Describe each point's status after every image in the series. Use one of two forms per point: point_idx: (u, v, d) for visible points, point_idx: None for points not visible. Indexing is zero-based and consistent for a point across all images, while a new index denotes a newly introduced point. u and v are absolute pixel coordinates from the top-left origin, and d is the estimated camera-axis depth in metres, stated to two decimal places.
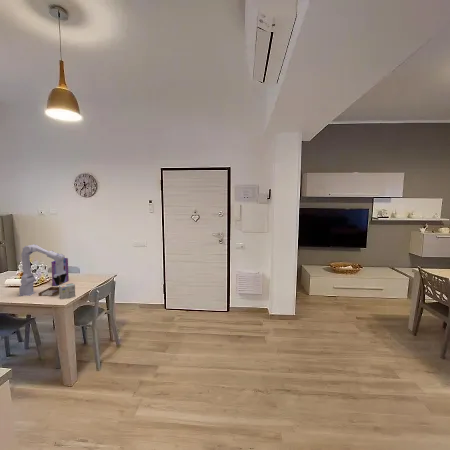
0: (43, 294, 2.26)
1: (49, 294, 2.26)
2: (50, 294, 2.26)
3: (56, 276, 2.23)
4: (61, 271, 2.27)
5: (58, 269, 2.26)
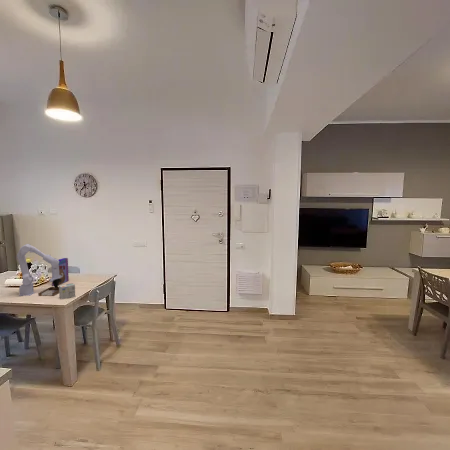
0: (43, 294, 2.26)
1: (49, 294, 2.26)
2: (50, 294, 2.26)
3: (52, 280, 2.31)
4: (57, 275, 2.36)
5: (54, 273, 2.35)
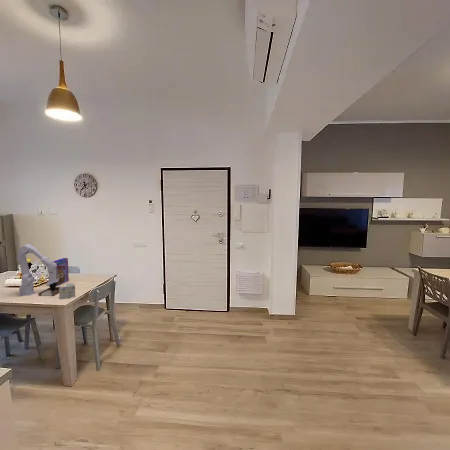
0: (43, 294, 2.25)
1: (49, 294, 2.26)
2: (50, 294, 2.26)
3: (49, 284, 2.27)
4: (54, 279, 2.32)
5: (51, 277, 2.31)
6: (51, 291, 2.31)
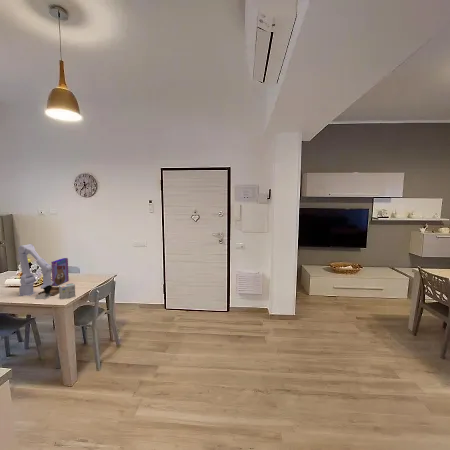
0: (37, 298, 2.18)
1: (43, 298, 2.18)
2: (44, 298, 2.18)
3: (43, 287, 2.20)
4: (48, 282, 2.25)
5: (45, 280, 2.23)
6: (45, 294, 2.23)
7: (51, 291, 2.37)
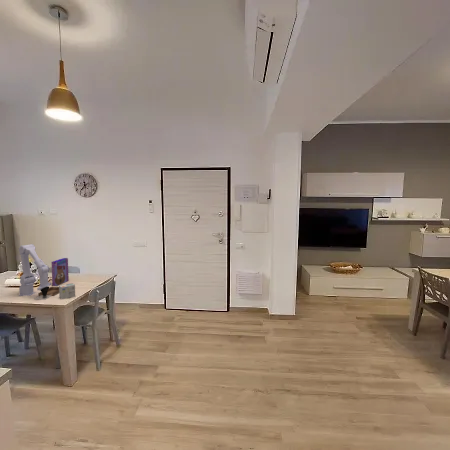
0: (36, 299, 2.17)
1: (42, 299, 2.17)
2: (43, 299, 2.17)
3: (40, 289, 2.16)
4: (45, 283, 2.21)
5: (42, 281, 2.19)
6: (44, 296, 2.22)
7: (51, 291, 2.37)
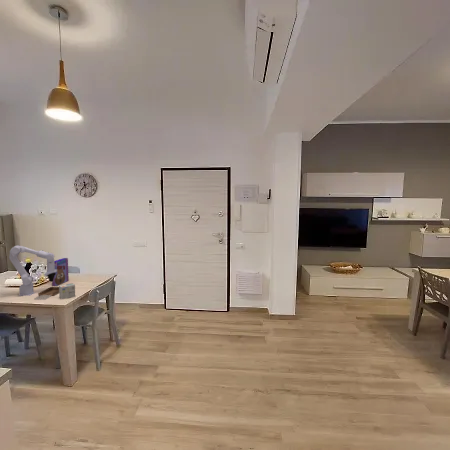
0: (36, 299, 2.17)
1: (42, 299, 2.17)
2: (43, 299, 2.17)
3: (47, 274, 2.29)
4: (52, 269, 2.34)
5: (49, 267, 2.33)
6: (45, 296, 2.22)
7: (51, 291, 2.37)
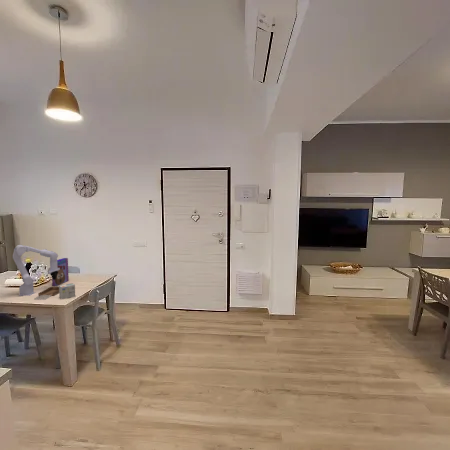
0: (36, 299, 2.17)
1: (42, 299, 2.17)
2: (43, 299, 2.17)
3: (50, 272, 2.36)
4: (55, 268, 2.41)
5: (52, 266, 2.39)
6: (45, 296, 2.22)
7: (51, 291, 2.37)
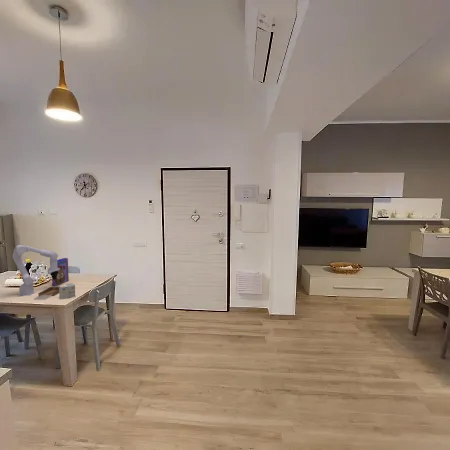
0: (36, 299, 2.17)
1: (42, 299, 2.17)
2: (43, 299, 2.17)
3: (50, 272, 2.36)
4: (55, 268, 2.41)
5: (52, 266, 2.39)
6: (45, 296, 2.22)
7: (51, 291, 2.37)
